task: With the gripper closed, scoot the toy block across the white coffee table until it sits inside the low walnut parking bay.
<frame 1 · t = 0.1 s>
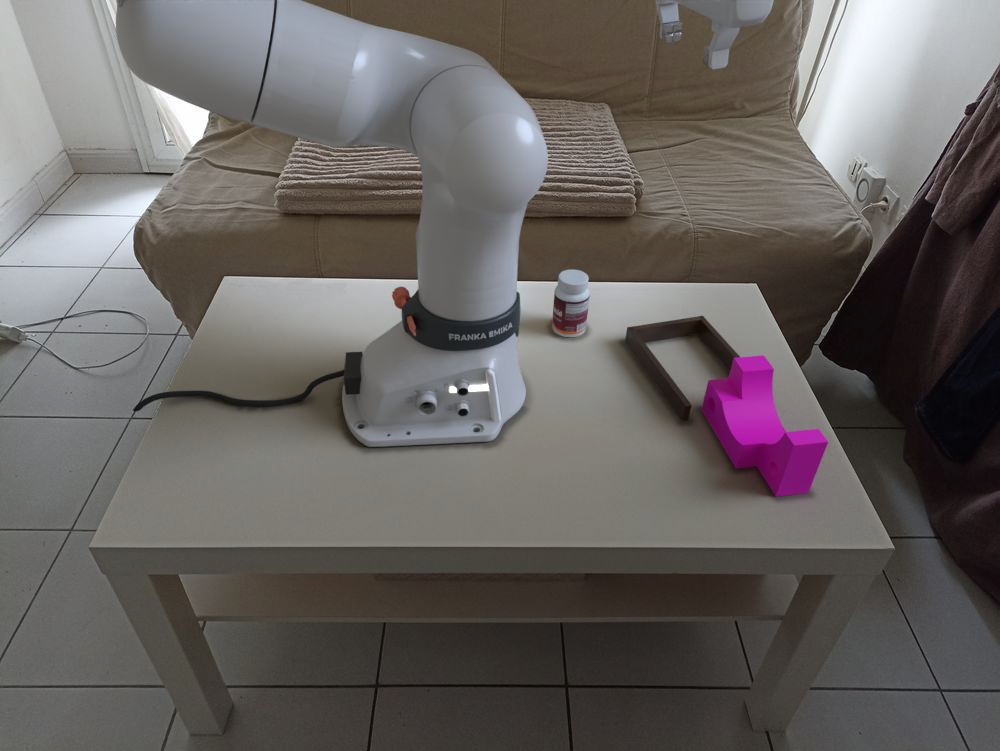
hand: (691, 53, 75), 39 cm above the table, tool pointing down, fingers open, 8 cm apart
pill bottle: (568, 329, 105), on the table
bay: (691, 372, 97), on the table
toy block: (751, 449, 86), on the table
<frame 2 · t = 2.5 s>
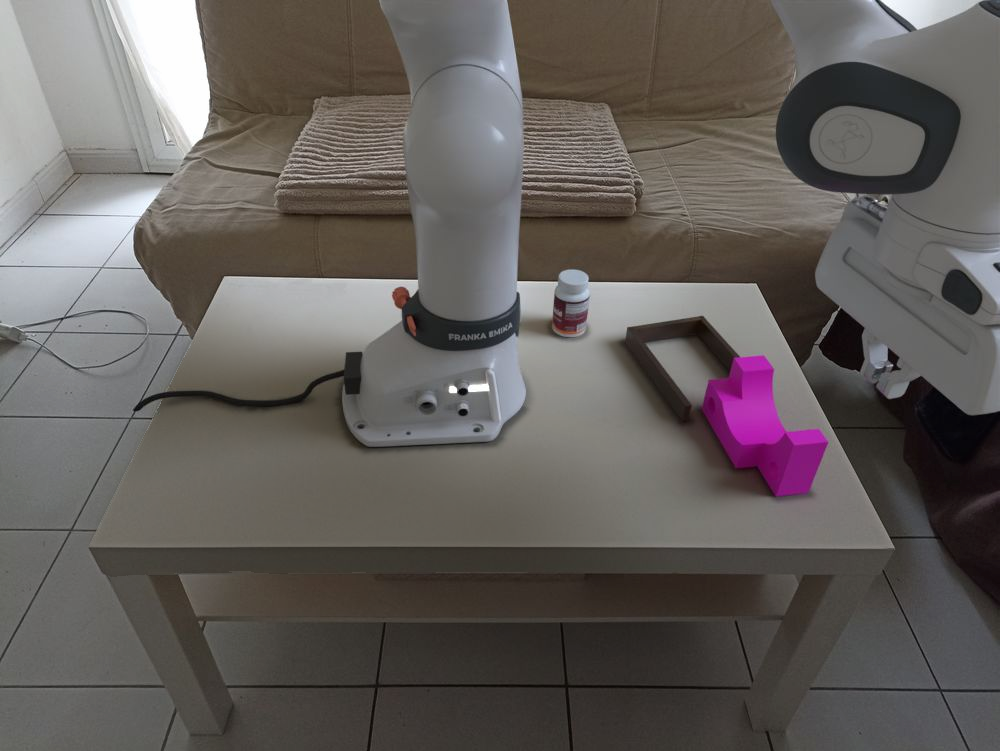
hand: (880, 385, 65), 19 cm above the table, tool pointing down, fingers closed
nothing on the table moved.
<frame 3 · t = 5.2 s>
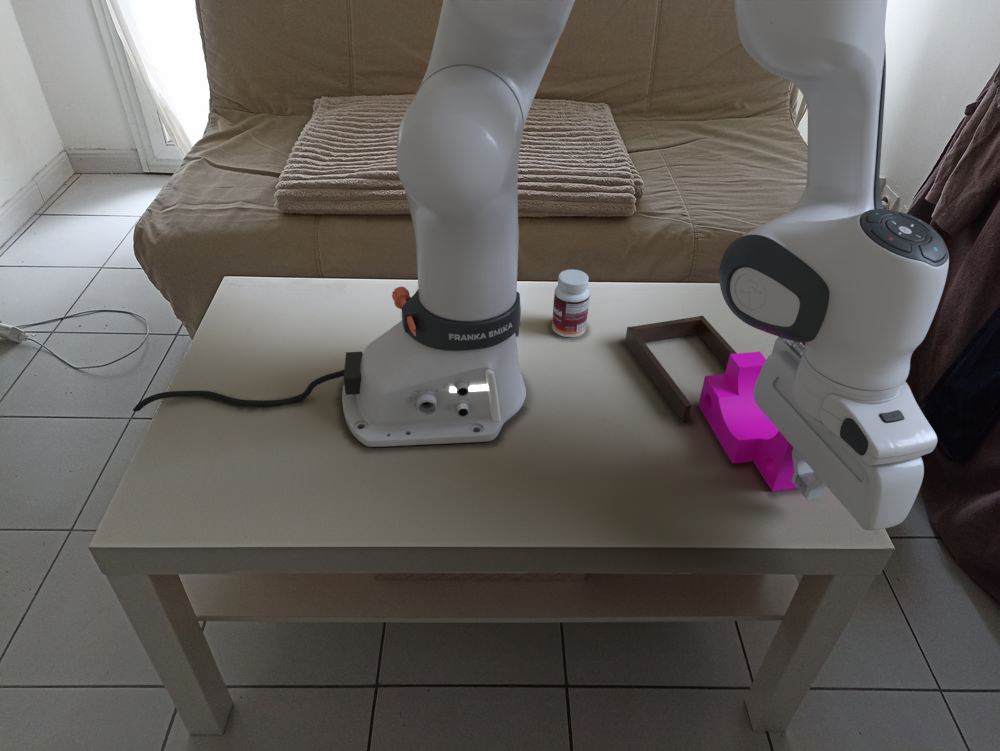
hand: (805, 490, 78), 3 cm above the table, tool pointing down, fingers closed
toy block: (747, 445, 87), on the table, touching gripper
everything else where it was.
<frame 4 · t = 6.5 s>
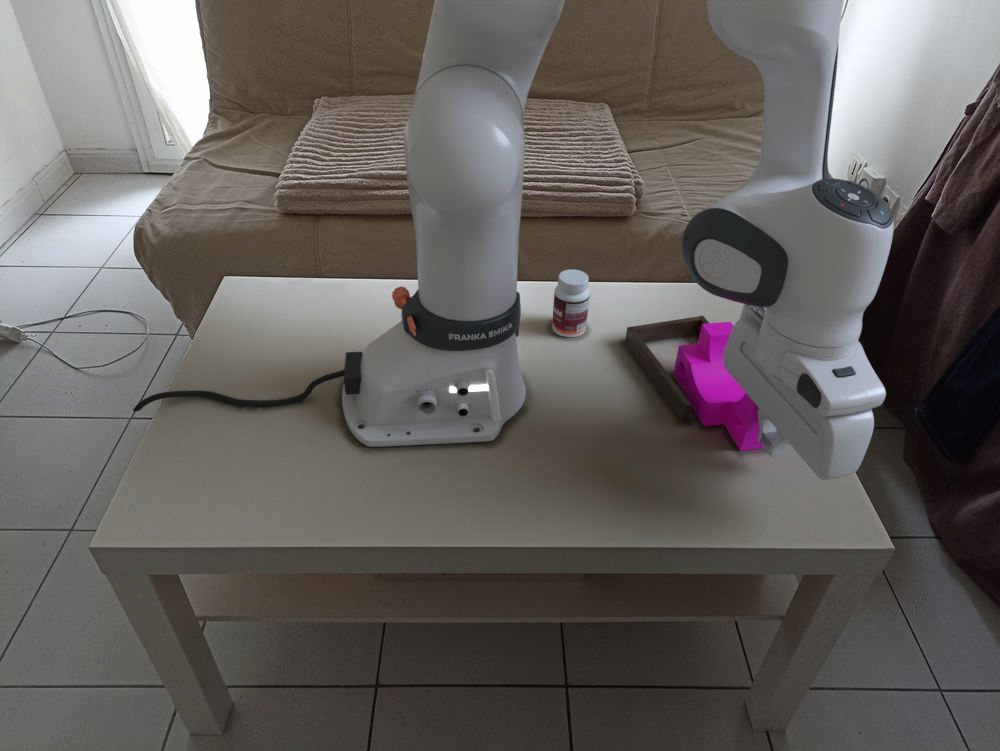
hand: (770, 448, 83), 3 cm above the table, tool pointing down, fingers closed
toy block: (718, 409, 92), on the table, touching gripper
everything else where it was.
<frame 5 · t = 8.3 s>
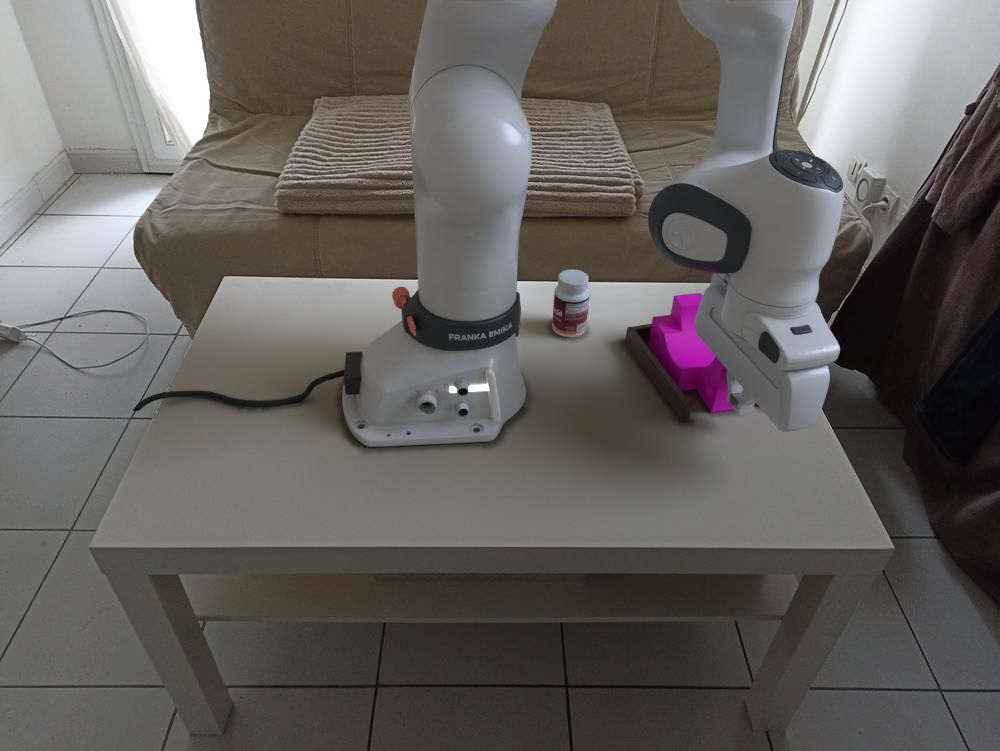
hand: (738, 408, 88), 3 cm above the table, tool pointing down, fingers closed
toy block: (691, 376, 97), on the table, touching gripper
everything else where it was.
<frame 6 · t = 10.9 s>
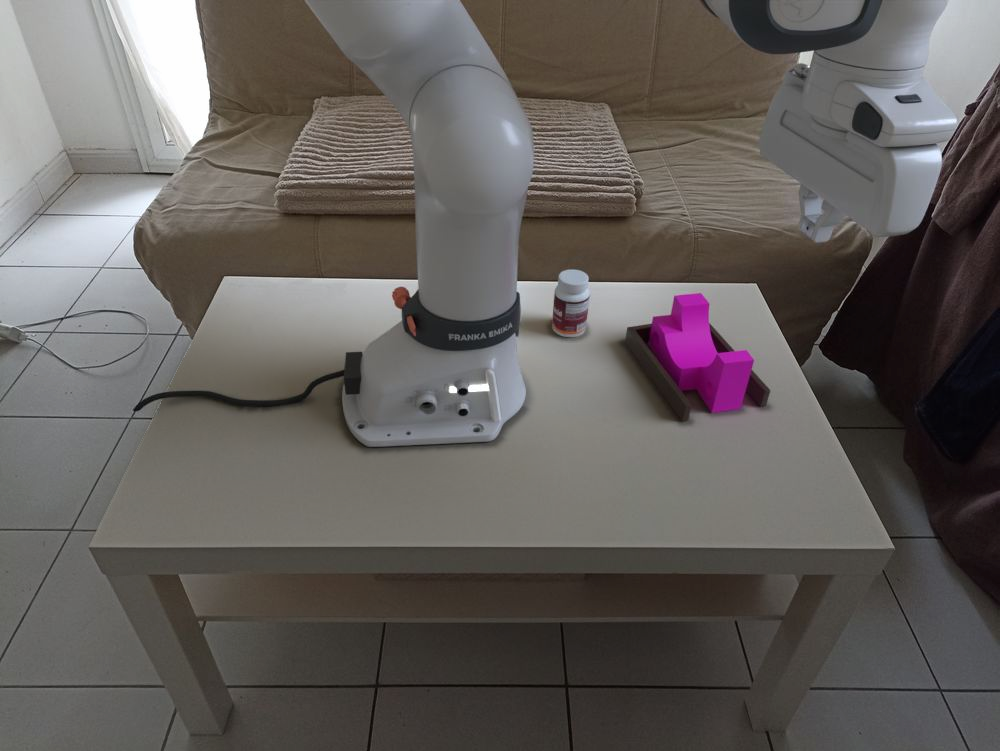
hand: (812, 235, 73), 25 cm above the table, tool pointing down, fingers closed
toy block: (691, 376, 97), on the table
everything else where it was.
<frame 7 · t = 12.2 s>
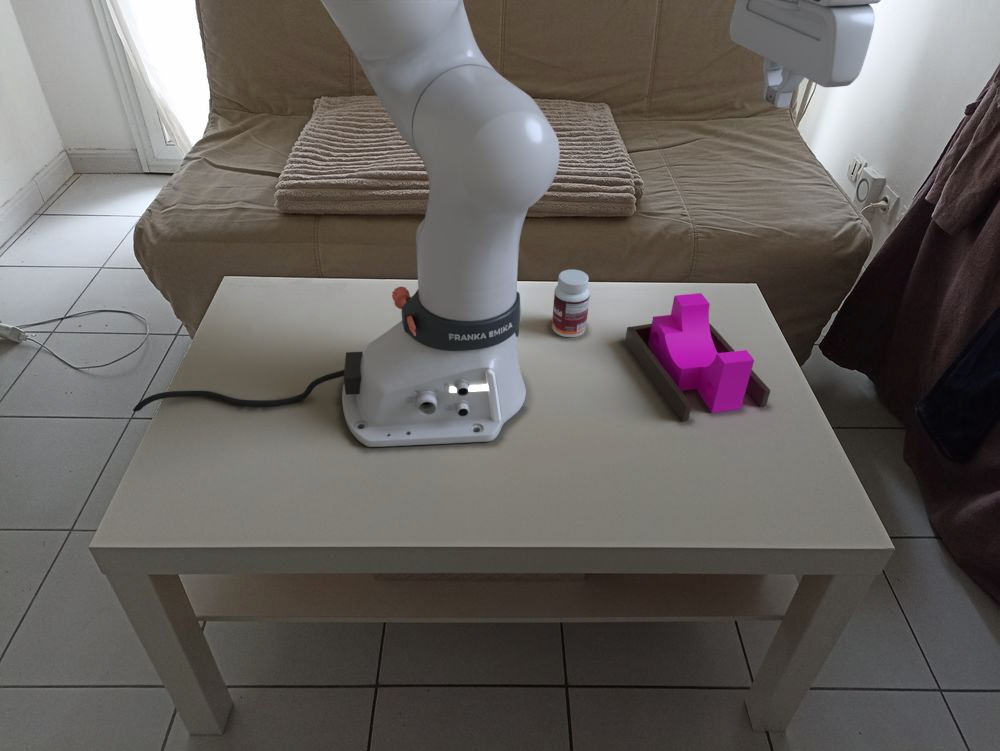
hand: (775, 103, 87), 31 cm above the table, tool pointing down, fingers closed
nothing on the table moved.
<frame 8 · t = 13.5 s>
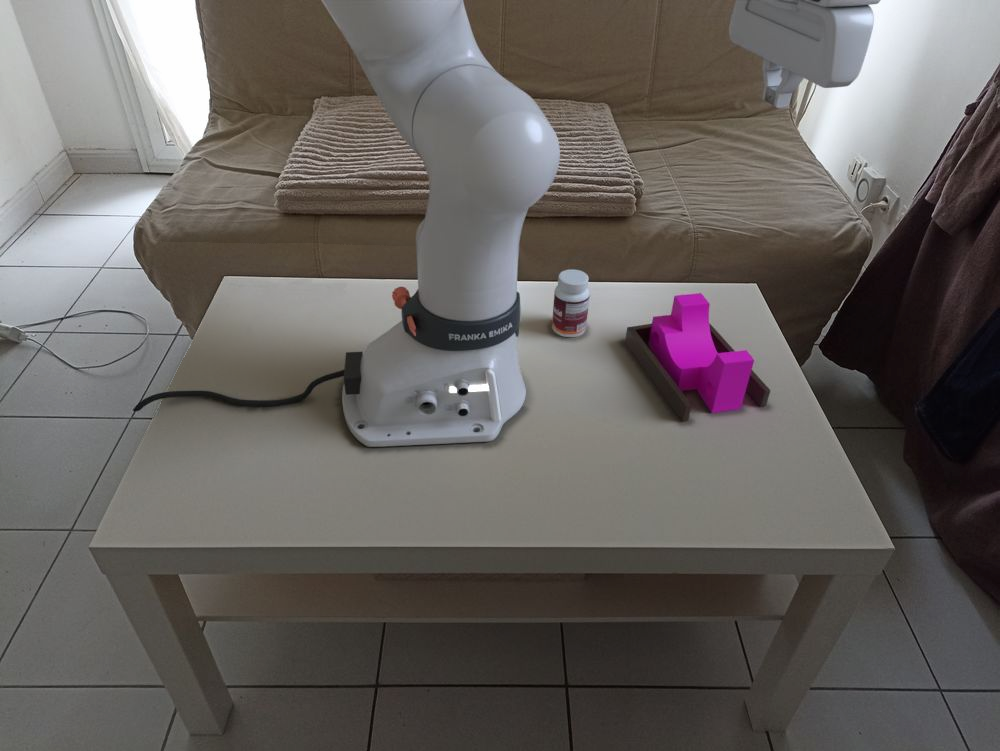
hand: (774, 104, 87), 31 cm above the table, tool pointing down, fingers closed
nothing on the table moved.
at the end: toy block inside the target area (0.3 cm from its centre), on the table; toy block tilted 0°; toy block moved 14.2 cm from its start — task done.
